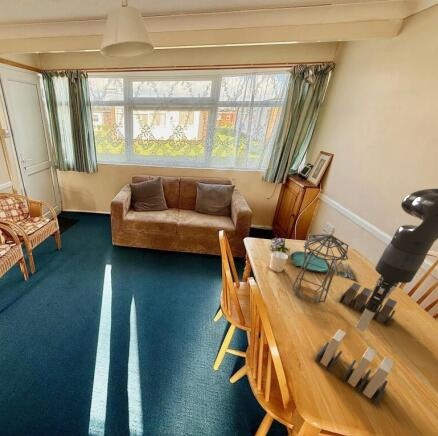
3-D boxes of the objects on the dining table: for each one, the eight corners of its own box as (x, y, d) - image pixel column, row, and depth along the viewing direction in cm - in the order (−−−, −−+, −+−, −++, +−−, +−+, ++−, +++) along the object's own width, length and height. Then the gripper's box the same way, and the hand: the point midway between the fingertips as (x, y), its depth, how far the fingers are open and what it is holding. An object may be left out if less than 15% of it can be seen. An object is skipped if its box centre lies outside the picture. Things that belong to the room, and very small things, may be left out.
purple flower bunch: (270, 256, 153) (269, 238, 155) (289, 257, 148) (288, 239, 151) (270, 255, 143) (270, 236, 145) (291, 256, 138) (290, 236, 141)
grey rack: (391, 319, 100) (402, 302, 95) (386, 328, 96) (397, 311, 91) (343, 296, 113) (351, 280, 108) (337, 303, 108) (345, 286, 104)
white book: (369, 322, 75) (387, 292, 70) (363, 331, 72) (381, 301, 67) (361, 318, 77) (378, 289, 71) (355, 327, 74) (372, 296, 68)
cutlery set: (290, 251, 149) (291, 248, 148) (348, 265, 135) (350, 262, 134) (289, 266, 134) (290, 263, 133) (354, 285, 119) (356, 281, 118)
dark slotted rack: (382, 391, 74) (402, 364, 68) (374, 407, 70) (395, 380, 64) (322, 350, 87) (335, 324, 81) (312, 361, 83) (325, 335, 77)
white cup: (265, 266, 134) (269, 251, 130) (277, 264, 136) (281, 250, 132) (274, 274, 127) (278, 259, 123) (286, 272, 129) (291, 258, 124)
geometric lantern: (326, 295, 113) (353, 233, 98) (324, 315, 102) (353, 249, 87) (290, 281, 122) (310, 223, 107) (284, 298, 111) (305, 236, 96)
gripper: (413, 278, 57) (383, 325, 64) (424, 259, 64) (396, 303, 72) (374, 263, 63) (350, 308, 70) (389, 247, 70) (366, 289, 77)
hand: (374, 305), depth 71 cm, fingers closed on white book, 6 cm apart
